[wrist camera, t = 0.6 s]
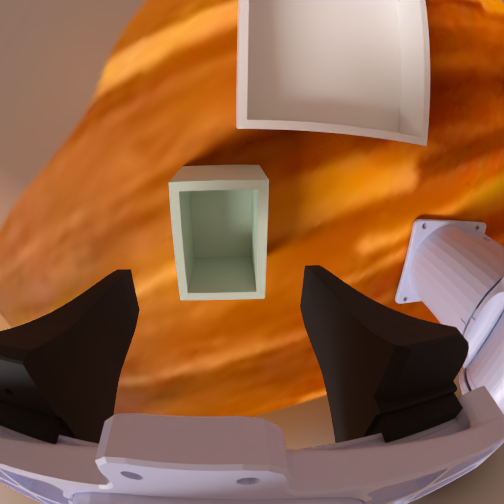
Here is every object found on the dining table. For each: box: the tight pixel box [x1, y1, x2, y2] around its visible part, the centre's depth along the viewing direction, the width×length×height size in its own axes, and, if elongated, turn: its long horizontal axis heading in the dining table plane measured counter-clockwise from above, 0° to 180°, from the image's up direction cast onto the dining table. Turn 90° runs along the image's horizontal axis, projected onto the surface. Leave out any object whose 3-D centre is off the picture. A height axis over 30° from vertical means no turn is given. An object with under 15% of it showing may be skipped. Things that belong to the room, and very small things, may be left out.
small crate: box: [169, 165, 269, 300], centre depth 18 cm, size 7×5×5 cm
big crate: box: [236, 0, 430, 146], centre depth 14 cm, size 12×12×4 cm
